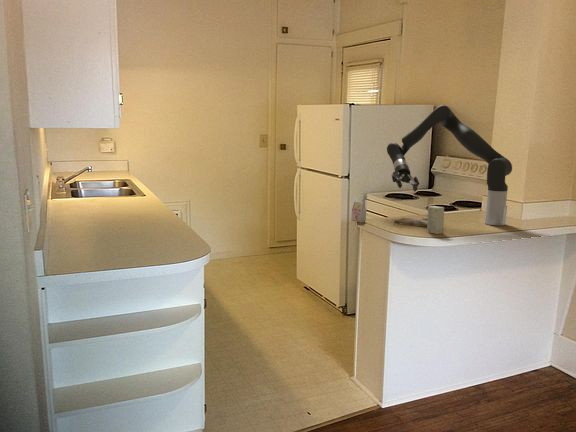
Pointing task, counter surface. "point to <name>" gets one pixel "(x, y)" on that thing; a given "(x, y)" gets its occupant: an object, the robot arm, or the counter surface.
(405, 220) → the dock board
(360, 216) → the pink printed carton
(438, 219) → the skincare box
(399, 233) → the counter surface
